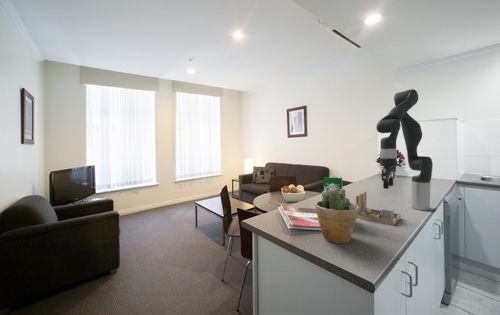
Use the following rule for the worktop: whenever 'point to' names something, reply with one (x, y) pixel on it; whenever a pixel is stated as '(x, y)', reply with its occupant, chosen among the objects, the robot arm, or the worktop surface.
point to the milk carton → (332, 182)
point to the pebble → (368, 211)
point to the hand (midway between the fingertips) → (388, 187)
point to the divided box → (373, 212)
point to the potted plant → (336, 215)
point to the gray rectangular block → (388, 213)
